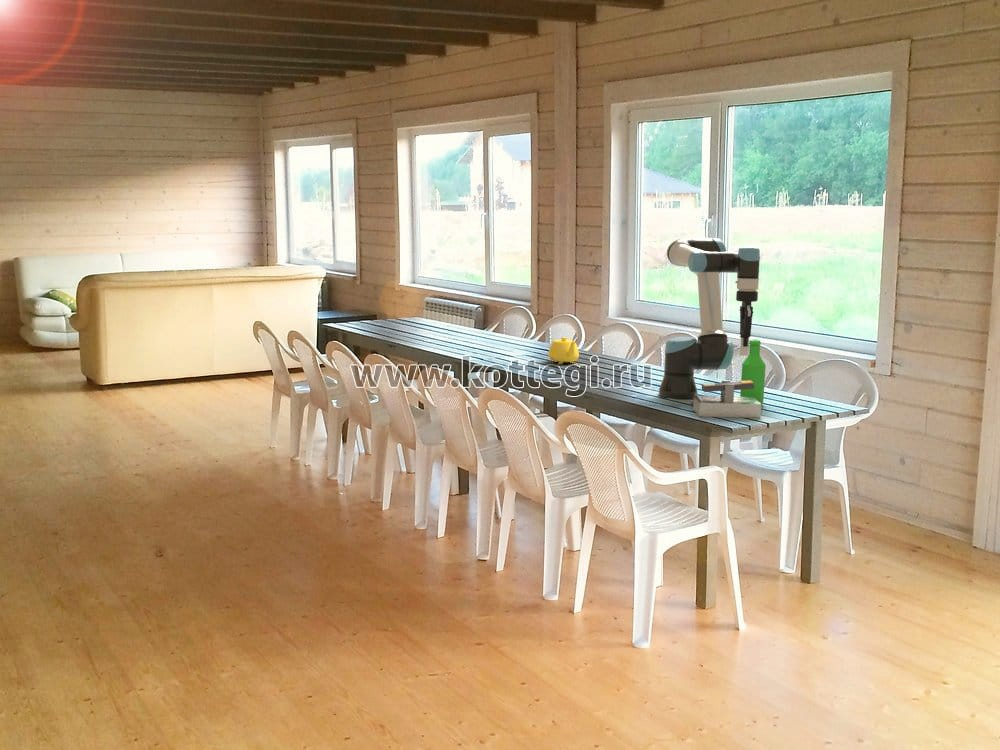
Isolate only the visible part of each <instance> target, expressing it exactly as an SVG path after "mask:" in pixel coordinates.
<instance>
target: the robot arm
mask: <svg viewBox="0 0 1000 750" xmlns="http://www.w3.org/2000/svg"><path fill="white" fill-rule="evenodd" d="M760 251H761V250H760V248H759V247H756V246H755V247H754V246H753V247H751V246H746V247H745V246H742V247H739V248H738V250H737V251H727V247H726V244H725V243H724V241H723V240H721V238H714V237H703V238H702V237H682V238H678V239H676V240H674V241H672V242H671V243H670V244H669V245H668V247H667V249H666V257H667V259H668V261H669V262H670V263H671V264H672V265H675V266H678V267H685V268H688V269H689V271H690V272H692V273H694V274H695V275H696V276H697V289H698V305H699V307H698V308H699V318H700V319H699V320H700V321H699V322H700V333H699V335H698V336H697V338H696V337H694V336H677V337H672V338H669V339H667V340H666V342H665V349H664V370H663V378H662V381H661V383H660V386H659V389H658V395H659V396H660V397H663V398H666V399H667V398H668V399H675V400H677V399H678V400H679V399H680V400H685V399H689V400H690V399H694V393H695V394H696V395H697V396H698V389H697V385H696V382H695V381H696V380H695V377H694V375H695V373H694V372H695V370H697V371H698V370H709V371H711V370H715V371H718V370H720V371H721V370H726V369H728V368H729V367H730V365H731V364H732V361H733V357H734V345H733V341H732V340H730V339H728V334H727V333H725V331H724V327H723V325H724V324H723V313H722V312H723V311H722V299H721V297H722V296H721V282H720V273H724V274H725V273H726V274H727V273H730V274H731V273H735V274H736V275H737V277H736V278H737V279H736V280H735V284H736V289H737V290H736V296H735V297H736V299H735V300H736V301H737V302H741V305H740V307H739V315H740V316H739V334H740V336H739V337H740V349H739V350H740V352H739V355H740V356H745V357H746V356H747V357H748V355H749V352H750V344H749V342H750V338H751V336H752V335H751V332H752V323H753V322H752V321H753V315H754V308H753V306H752V303H754V302H755V303H756V302H757V301H758V300H759V299H758V298H759V296H758V294H759V292H758V290H759V285H760V284H759V283H760V281H759V280H760V279H759V276H760V275H759V274H760V261H761V256H760V253H761V252H760Z"/></svg>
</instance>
